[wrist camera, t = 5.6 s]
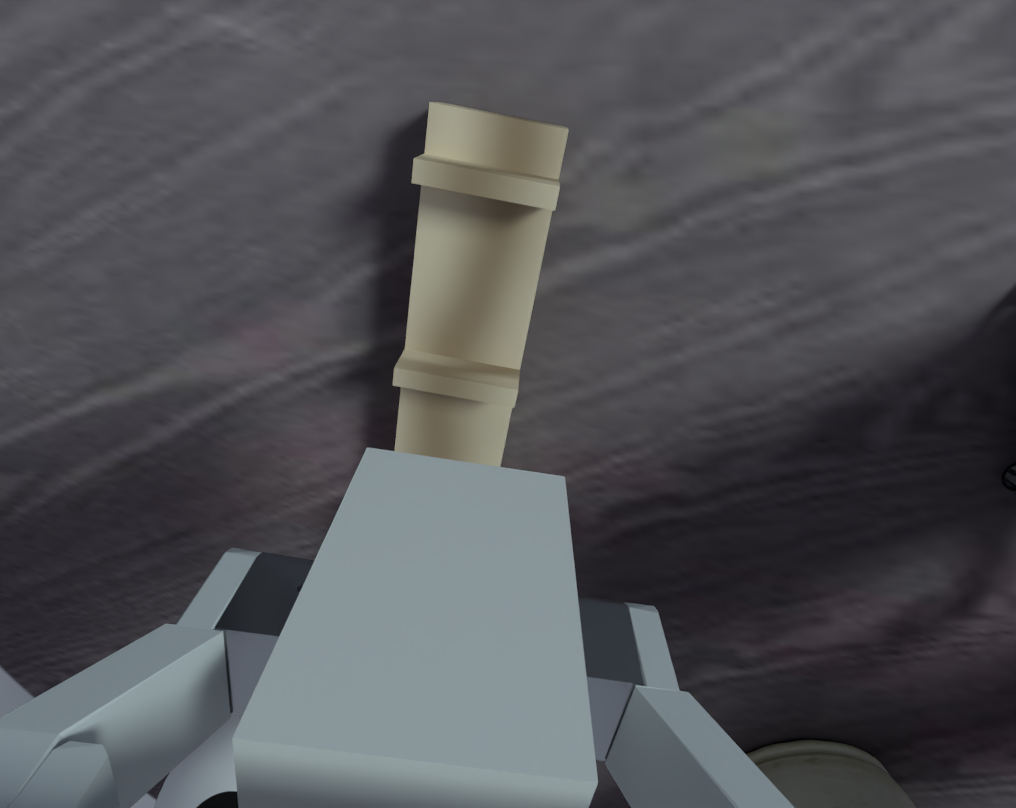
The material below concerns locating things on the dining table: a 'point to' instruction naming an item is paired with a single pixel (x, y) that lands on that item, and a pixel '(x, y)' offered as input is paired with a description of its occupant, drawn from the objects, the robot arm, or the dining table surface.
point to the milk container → (205, 774)
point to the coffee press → (1010, 478)
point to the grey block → (429, 651)
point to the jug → (828, 775)
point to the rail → (473, 278)
